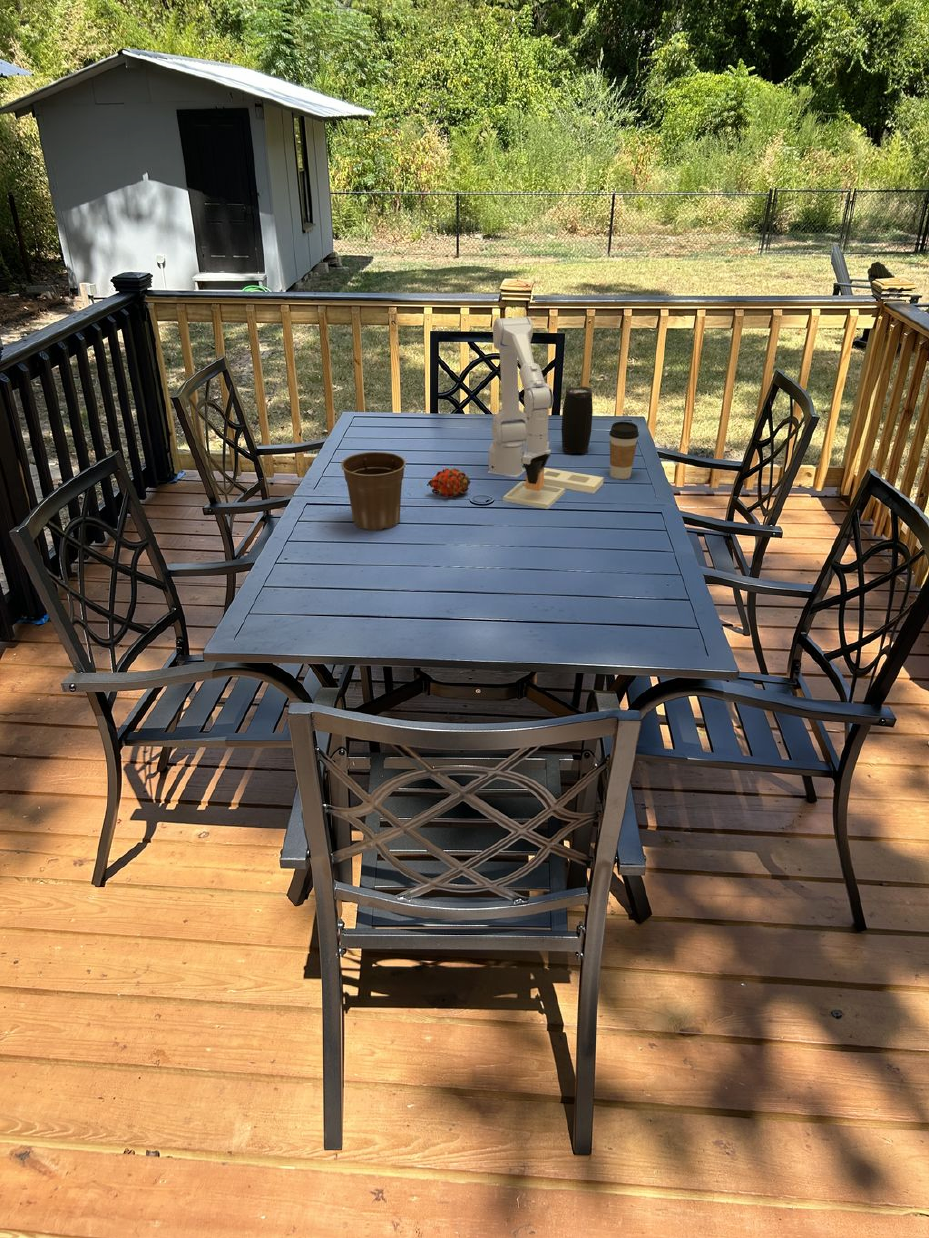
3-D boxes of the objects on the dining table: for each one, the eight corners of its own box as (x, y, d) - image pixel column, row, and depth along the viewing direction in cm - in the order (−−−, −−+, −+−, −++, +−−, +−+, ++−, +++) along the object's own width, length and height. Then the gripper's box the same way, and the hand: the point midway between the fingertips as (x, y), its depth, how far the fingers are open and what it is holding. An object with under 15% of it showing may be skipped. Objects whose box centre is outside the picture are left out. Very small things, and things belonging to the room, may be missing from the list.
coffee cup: (633, 471, 267) (638, 421, 260) (635, 481, 260) (640, 430, 253) (605, 470, 268) (609, 420, 261) (606, 480, 261) (610, 429, 253)
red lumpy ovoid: (473, 502, 250) (431, 508, 252) (471, 476, 254) (429, 482, 255) (469, 486, 243) (425, 491, 244) (467, 459, 246) (424, 465, 247)
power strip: (533, 484, 258) (534, 476, 256) (543, 475, 264) (544, 467, 263) (593, 495, 251) (594, 486, 250) (602, 485, 257) (603, 477, 256)
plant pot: (398, 537, 227) (396, 476, 219) (336, 531, 230) (332, 471, 222) (414, 512, 241) (412, 454, 233) (356, 507, 243) (352, 449, 235)
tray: (503, 502, 246) (503, 496, 245) (521, 487, 256) (521, 481, 255) (547, 511, 241) (547, 504, 240) (564, 494, 251) (565, 488, 250)
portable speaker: (554, 451, 282) (557, 389, 273) (575, 445, 288) (579, 383, 278) (575, 458, 277) (578, 395, 267) (595, 451, 282) (600, 389, 272)
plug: (525, 488, 247) (526, 467, 244) (529, 484, 249) (530, 464, 246) (539, 491, 245) (540, 470, 242) (543, 487, 248) (544, 466, 245)
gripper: (540, 443, 232) (538, 492, 239) (560, 427, 244) (558, 474, 250) (515, 439, 235) (514, 488, 242) (536, 423, 246) (534, 470, 253)
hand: (534, 481), depth 246 cm, fingers closed on plug, 3 cm apart
